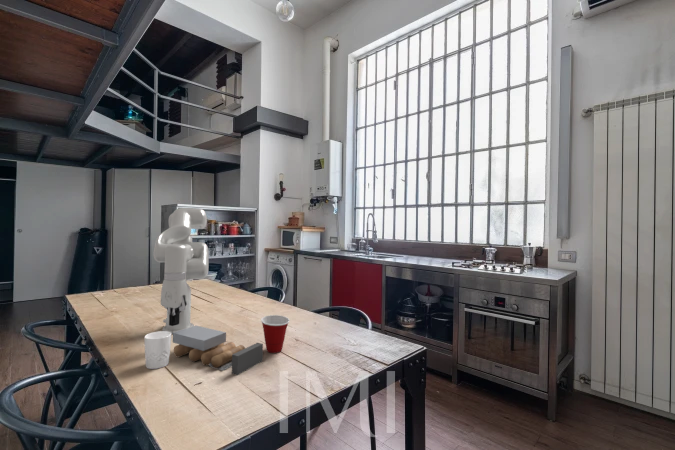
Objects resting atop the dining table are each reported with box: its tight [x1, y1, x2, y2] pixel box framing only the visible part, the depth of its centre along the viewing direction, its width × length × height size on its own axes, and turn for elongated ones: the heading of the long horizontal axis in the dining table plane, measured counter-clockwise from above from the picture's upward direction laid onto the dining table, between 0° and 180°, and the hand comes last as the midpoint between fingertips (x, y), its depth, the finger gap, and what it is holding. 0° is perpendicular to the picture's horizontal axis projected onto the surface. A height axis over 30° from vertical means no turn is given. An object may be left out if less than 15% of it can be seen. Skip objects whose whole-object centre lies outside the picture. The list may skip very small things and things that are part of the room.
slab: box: [172, 325, 227, 351], centre depth 118 cm, size 16×10×4 cm, turn 63°
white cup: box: [144, 330, 172, 370], centre depth 107 cm, size 8×8×10 cm
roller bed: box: [173, 341, 237, 366], centre depth 116 cm, size 18×12×4 cm, turn 63°
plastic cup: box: [260, 314, 291, 354], centre depth 122 cm, size 11×11×12 cm
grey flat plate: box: [208, 361, 232, 371], centre depth 111 cm, size 6×12×1 cm, turn 153°
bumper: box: [231, 342, 264, 376], centre depth 107 cm, size 2×12×6 cm, turn 153°
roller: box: [211, 344, 246, 369], centre depth 111 cm, size 4×12×4 cm
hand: (174, 324), depth 123 cm, fingers closed
